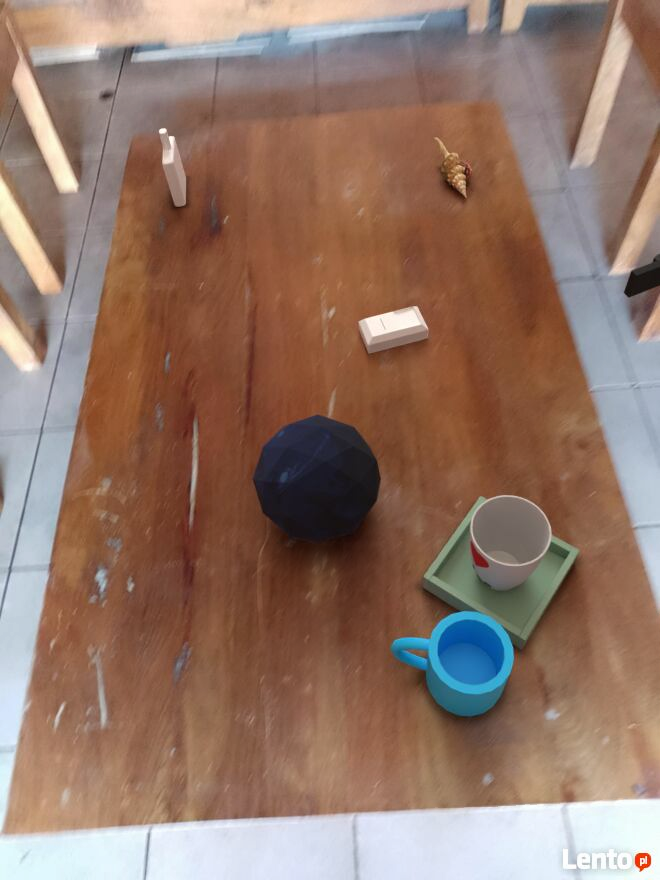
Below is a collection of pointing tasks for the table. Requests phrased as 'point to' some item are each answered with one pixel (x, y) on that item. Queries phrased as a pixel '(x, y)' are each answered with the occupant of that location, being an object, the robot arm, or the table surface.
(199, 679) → the table surface
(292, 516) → the decorative orb
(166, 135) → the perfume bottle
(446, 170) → the spiral snail shell
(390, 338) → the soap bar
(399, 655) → the mug
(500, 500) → the cup
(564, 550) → the tray
